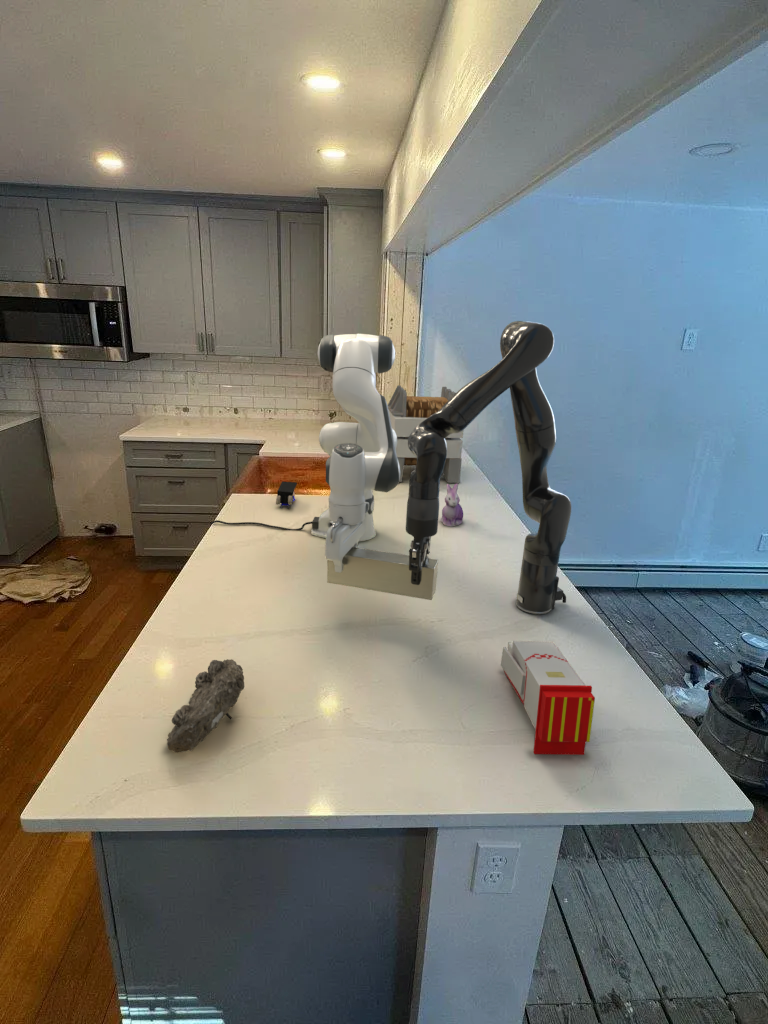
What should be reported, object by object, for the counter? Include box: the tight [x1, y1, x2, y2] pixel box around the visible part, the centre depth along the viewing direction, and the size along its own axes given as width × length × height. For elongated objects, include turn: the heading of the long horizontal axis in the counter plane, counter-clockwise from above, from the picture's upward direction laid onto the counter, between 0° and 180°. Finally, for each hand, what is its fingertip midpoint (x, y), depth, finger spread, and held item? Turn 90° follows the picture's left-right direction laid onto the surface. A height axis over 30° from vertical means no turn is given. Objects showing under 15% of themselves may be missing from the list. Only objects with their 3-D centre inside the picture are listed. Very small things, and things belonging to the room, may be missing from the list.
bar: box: [326, 546, 439, 601], centre depth 140 cm, size 27×5×8 cm, turn 74°
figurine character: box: [275, 480, 298, 509], centre depth 223 cm, size 7×8×15 cm
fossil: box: [166, 658, 245, 754], centre depth 106 cm, size 22×10×15 cm
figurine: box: [440, 483, 464, 527], centre depth 210 cm, size 9×10×15 cm
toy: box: [500, 640, 596, 756], centre depth 114 cm, size 12×13×30 cm
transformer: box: [387, 384, 465, 484], centre depth 268 cm, size 34×33×41 cm
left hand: (345, 563), depth 142 cm, fingers open, 8 cm apart
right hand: (418, 578), depth 138 cm, fingers closed on bar, 5 cm apart
